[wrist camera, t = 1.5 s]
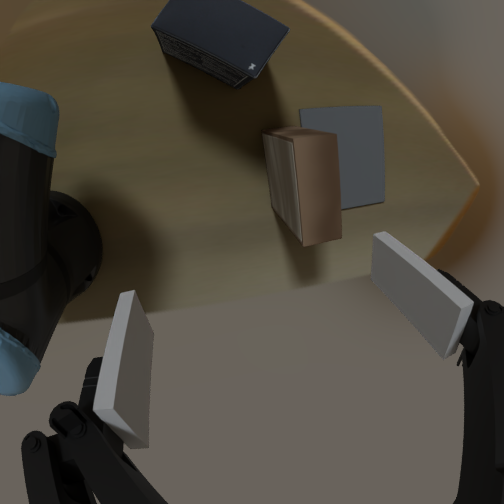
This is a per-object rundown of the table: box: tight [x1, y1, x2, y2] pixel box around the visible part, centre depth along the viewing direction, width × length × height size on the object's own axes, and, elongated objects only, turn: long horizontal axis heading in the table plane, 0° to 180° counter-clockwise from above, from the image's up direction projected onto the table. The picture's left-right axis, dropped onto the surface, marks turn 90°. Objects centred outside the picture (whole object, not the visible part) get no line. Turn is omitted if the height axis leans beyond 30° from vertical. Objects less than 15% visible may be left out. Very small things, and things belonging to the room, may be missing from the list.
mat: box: [299, 106, 385, 209], centre depth 37 cm, size 12×14×1 cm
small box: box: [151, 0, 290, 89], centre depth 24 cm, size 11×6×10 cm, turn 59°
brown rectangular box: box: [261, 126, 342, 247], centre depth 31 cm, size 4×10×12 cm, turn 9°
